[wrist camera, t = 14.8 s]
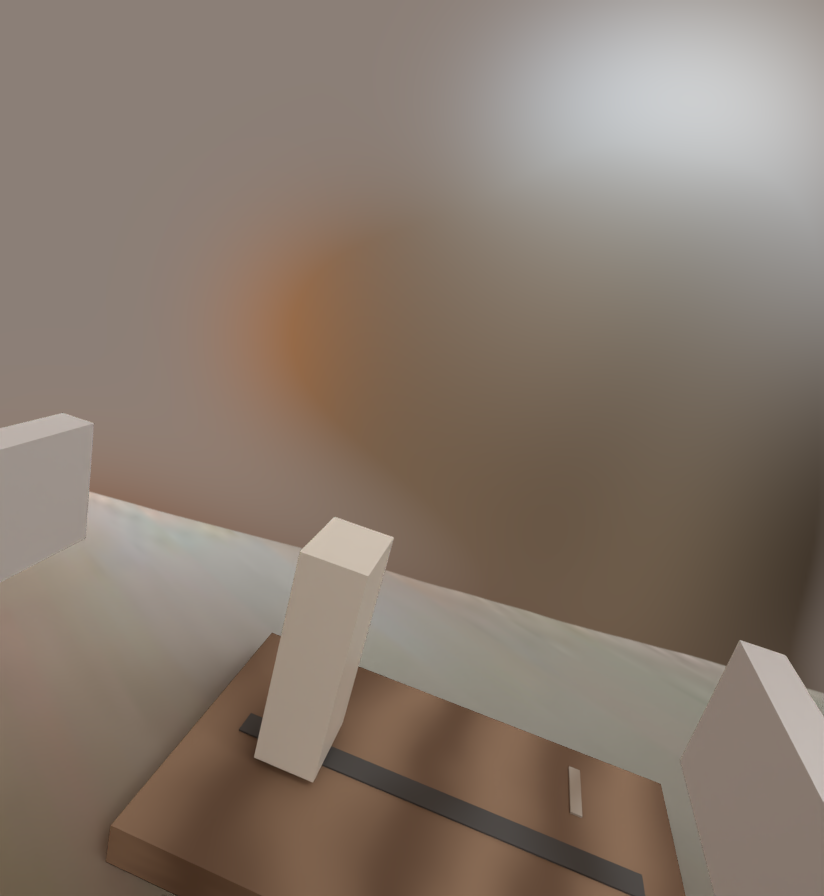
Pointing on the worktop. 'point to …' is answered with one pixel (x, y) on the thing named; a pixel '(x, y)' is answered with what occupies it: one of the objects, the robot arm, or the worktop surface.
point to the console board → (392, 808)
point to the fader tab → (321, 645)
